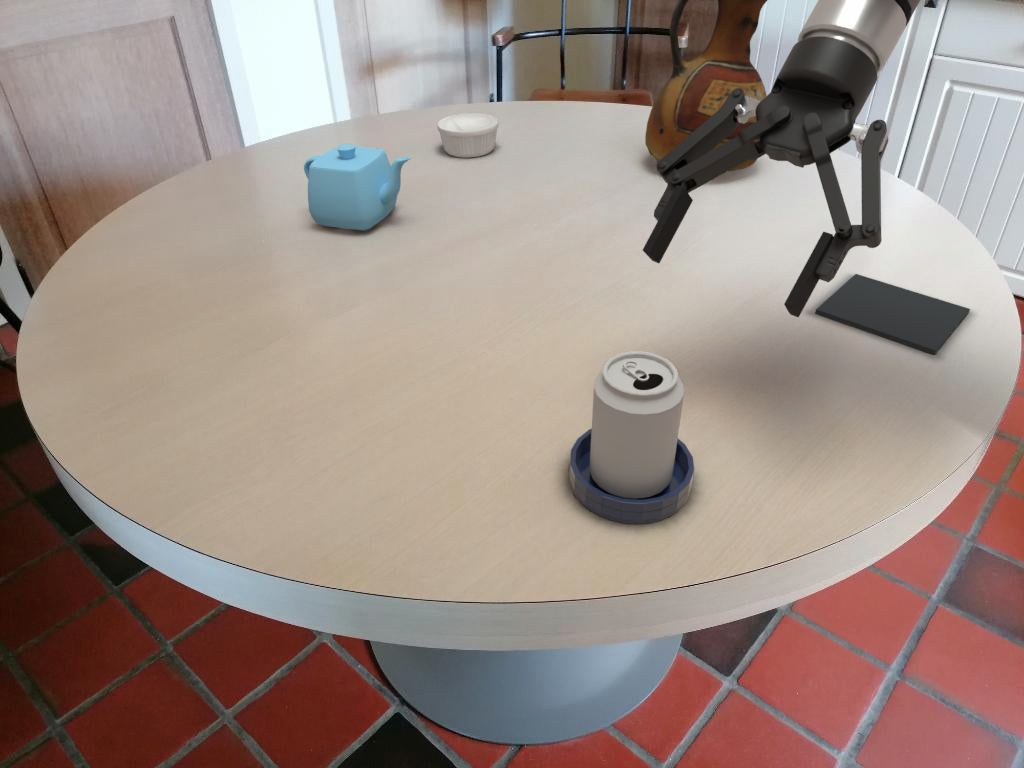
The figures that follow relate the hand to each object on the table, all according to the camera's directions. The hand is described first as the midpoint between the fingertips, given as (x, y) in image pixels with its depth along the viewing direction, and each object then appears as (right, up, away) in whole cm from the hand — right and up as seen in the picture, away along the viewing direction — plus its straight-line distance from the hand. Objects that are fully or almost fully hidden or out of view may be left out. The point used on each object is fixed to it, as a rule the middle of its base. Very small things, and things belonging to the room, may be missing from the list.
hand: (716, 283), depth 64 cm
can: (-7, -17, +5) cm, 19 cm away
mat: (+29, 0, +27) cm, 40 cm away
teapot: (-41, +17, +53) cm, 69 cm away
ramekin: (-26, +36, +78) cm, 90 cm away
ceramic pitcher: (+16, +30, +69) cm, 77 cm away
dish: (-7, -17, +5) cm, 19 cm away
